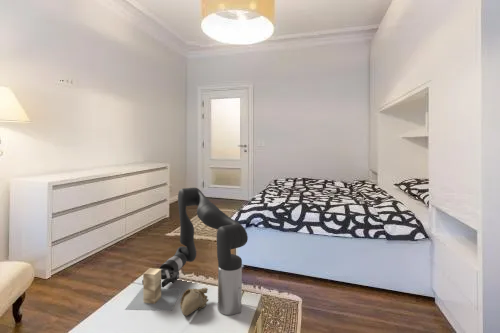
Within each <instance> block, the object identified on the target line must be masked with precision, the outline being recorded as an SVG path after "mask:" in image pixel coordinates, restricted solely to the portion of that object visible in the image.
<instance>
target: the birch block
mask: <svg viewBox="0 0 500 333" xmlns="http://www.w3.org/2000/svg"><path fill="white" fill-rule="evenodd" d="M142 274H143V275H142V276H143V277H142V278H143V279H142V280H143V284H142V285H143V286H142V288H143V302H144V303H152V304H155V303H156V302H157V301H158V300H159V299H160V298H161V288H162V279H161V269H159V268H155V267H154V268H153V267H150V268H148V269H147V270H146V271H145V272H143V273H142Z"/></svg>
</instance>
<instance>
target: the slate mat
mask: <svg viewBox="0 0 500 333" xmlns="http://www.w3.org/2000/svg"><path fill="white" fill-rule="evenodd" d="M182 290H183V288H167V287H161V298H160V299H159V300H158V301H157V302H156V303H155V304H152V303H144V302H143V287H142V288H141V289H140V290H139V291H138V292H137V293H136V295H135V296H134V297H133V298H132V300H131V301H130V303H129V304H128V305H127V306H126V307H125V309H124V310H126V311H167V312H168V311H173V309H174V307H175V305H176V303H177V301H178V298H179V296H180V295H181V293H182Z"/></svg>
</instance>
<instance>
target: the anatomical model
mask: <svg viewBox="0 0 500 333" xmlns="http://www.w3.org/2000/svg"><path fill="white" fill-rule="evenodd" d="M208 290H209V289H208V288H207V287H202V288H187V289H186V290H185V291H184V292H183V293H182V296H181V299H180V303H179V304H180V309H181V312H182V315H184V316H186V317H187V316H190V315H191V314H192V313H193V312H195V311H196V310H197V311H199V310H201V309H204V308H206V306H207V303H208V302H209V299H208V296H207V295H206V294H207V293H208Z"/></svg>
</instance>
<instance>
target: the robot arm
mask: <svg viewBox="0 0 500 333" xmlns="http://www.w3.org/2000/svg"><path fill="white" fill-rule="evenodd" d="M177 204H178V215H179V224H180V227H179V228H180V231H179V232H180V234H179V243H180V244H181V245H183V246H179V247H178V248H177V249H176V252H175V254H174V255H173V256H172V257H170V258H168V259H167V260H166V261H165V262H164V263H162V264H161V265H160V266H159V268H158V269H161V288H166V286H168V284H169V285H170V284H171V283H172V284H175V283H176V282H177V281H178V280H179V278H180V270H182V268H183V267H184V266H185V265H186V263H187V262H189V263H191V262H194V261H195V260H196V258H197V249H196V246H195V227H194V224H193V222H192V221H191V219H190V218H189V216H188V214H187V207H192V206H197V209H196V215H197V218H198V219H199V220H200V221H201V222H202V223H203V224H204V225H205V226H206V227H208V228H211V229H214V230H217V232H216V256H217V258H216V259H217V264H218V265H217V274H218V275H217V310H218V312H219V313H220V314H222V315H225V316H233V315H236V314H238V313H239V314H241V312H242V297H243V296H242V293H243V292H242V291H243V290H242V288H243V286H242V284H243V283H242V280H243V279H242V276H243V275H242V271H243V269H242V268H243V260H242V258H241V257H240V256H239V255H237V254H234V253H233V254H232V250H234V249H238V248H242V247H244V246H245V245H246V244H247V243H248V238H249V236H248V233H247V230H246V228H244V226H243V225H242V224H241V223H239V222H238V221H236V220H235V219H233V218H231V217H230V216H228V215H227V214H226V213H225V212H223V210H221V209H220V208H219V207H218V206H217V205H215V203H213V202H211V201H210V200H209V198H207V197H206V195H205V194H204V193H203V192H202V190H200V188H197V187H184V188H180V189H179V191H178V194H177ZM141 283H142V285H143V279H142V282H141Z"/></svg>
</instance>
